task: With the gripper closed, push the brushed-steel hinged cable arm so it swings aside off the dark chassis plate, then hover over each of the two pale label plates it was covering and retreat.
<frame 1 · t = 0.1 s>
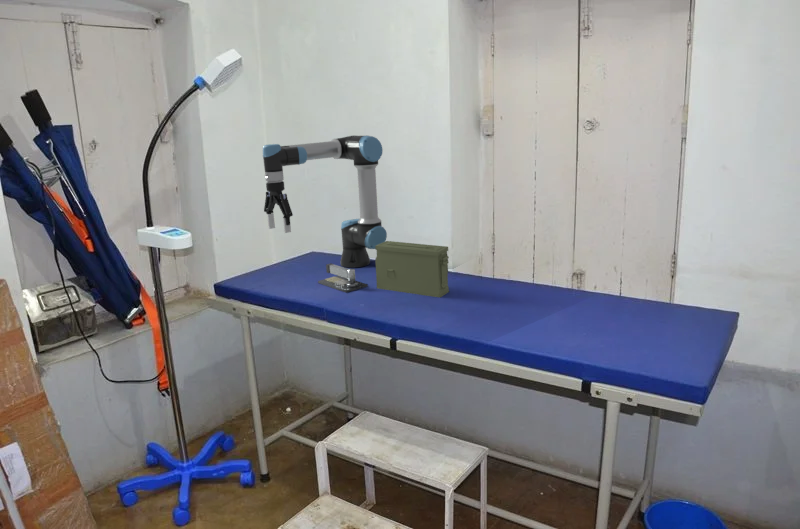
hand: (279, 230, 260), 28 cm above the table, fingers open, 13 cm apart
chassis: (352, 288, 269), on the table
ammunition box: (413, 290, 262), on the table
cable arm: (341, 272, 273), point 6 cm above the table, hinge at 0.0°
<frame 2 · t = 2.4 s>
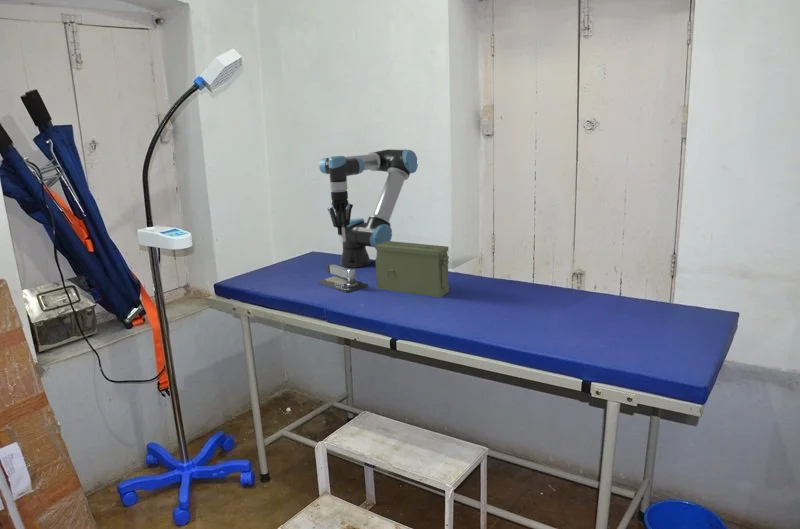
hand: (342, 241, 278), 18 cm above the table, fingers closed
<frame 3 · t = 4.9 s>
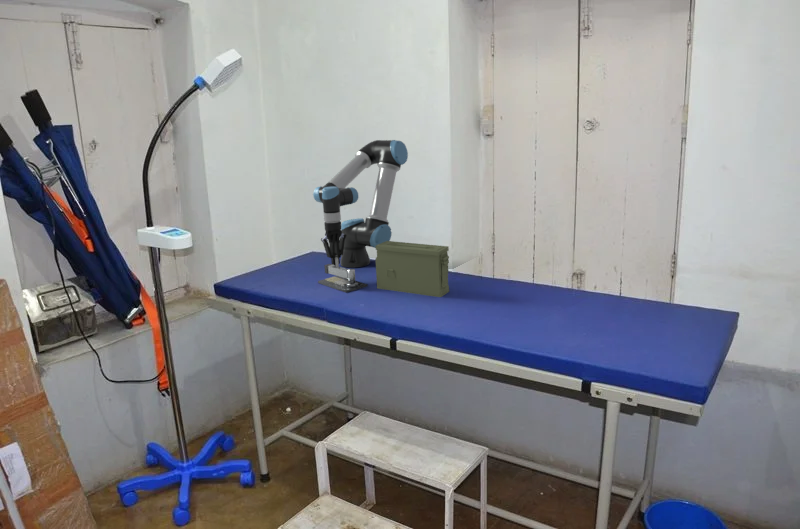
hand: (336, 271, 278), 5 cm above the table, fingers closed
cable arm: (340, 273, 273), point 6 cm above the table, hinge at 3.3°, touching gripper
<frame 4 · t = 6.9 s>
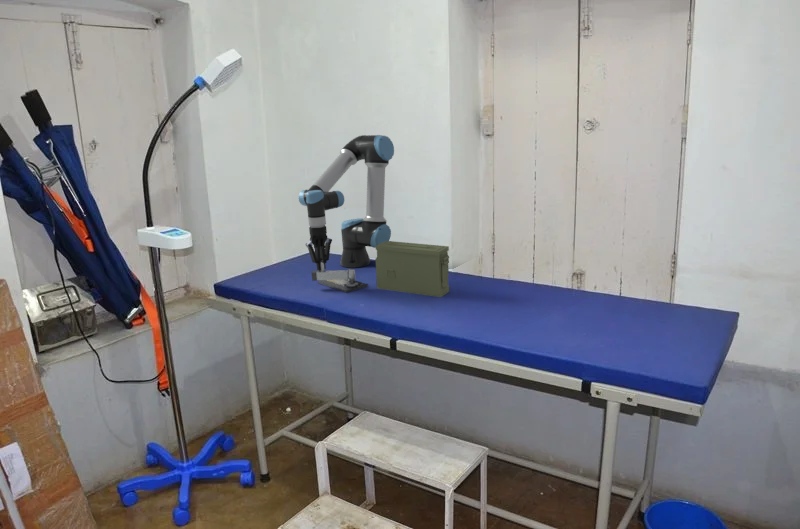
hand: (322, 276, 271), 5 cm above the table, fingers closed
cable arm: (333, 276, 268), point 6 cm above the table, hinge at 45.0°, touching gripper
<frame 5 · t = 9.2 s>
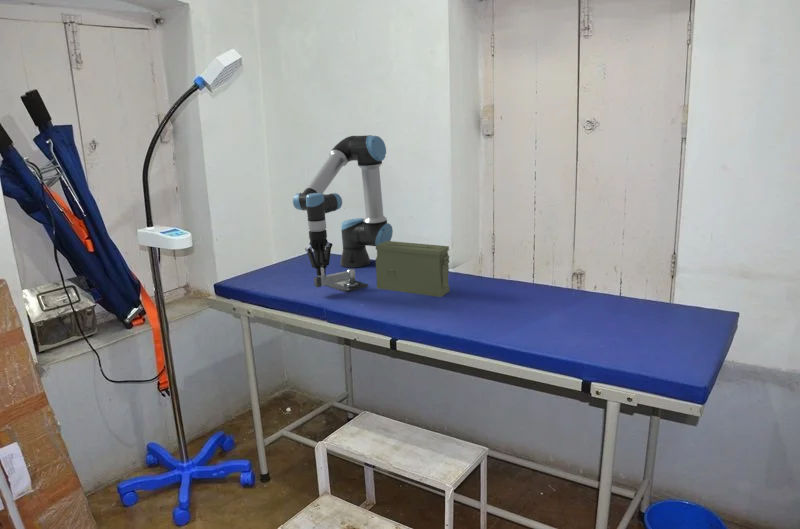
hand: (322, 282, 263), 5 cm above the table, fingers closed
cable arm: (335, 279, 263), point 6 cm above the table, hinge at 81.4°, touching gripper
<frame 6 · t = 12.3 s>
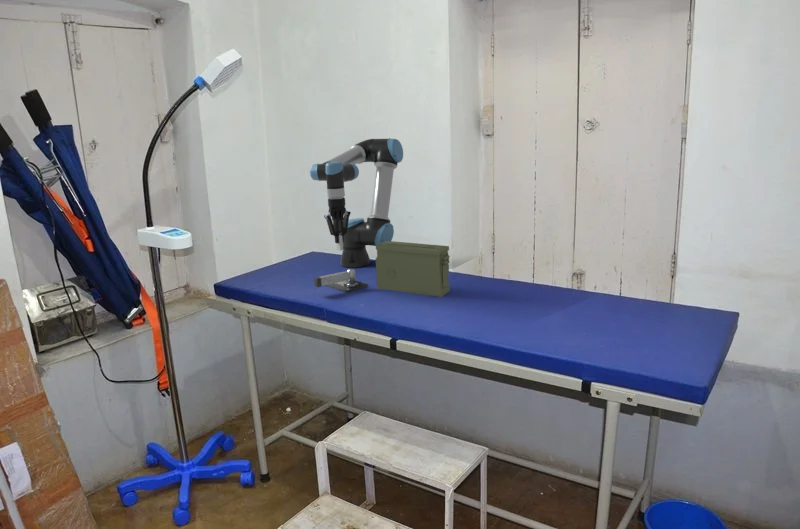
hand: (340, 249, 269), 17 cm above the table, fingers closed
cable arm: (335, 279, 263), point 6 cm above the table, hinge at 81.4°
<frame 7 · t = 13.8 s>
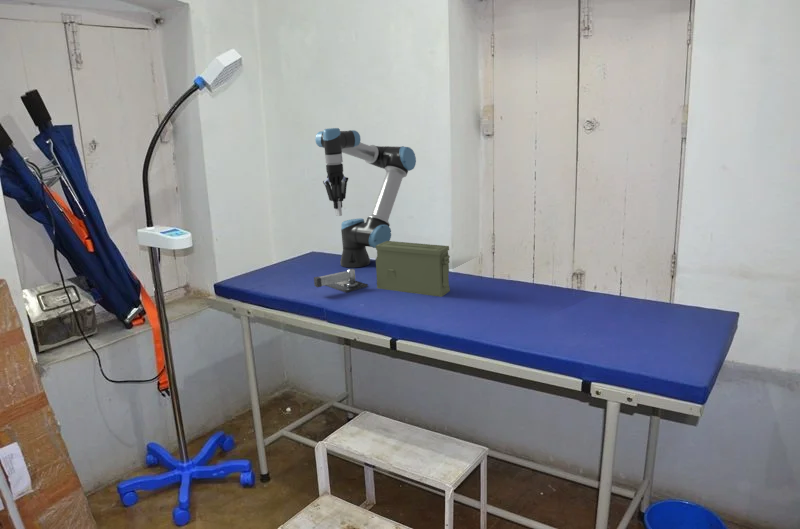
hand: (338, 215, 275), 30 cm above the table, fingers closed
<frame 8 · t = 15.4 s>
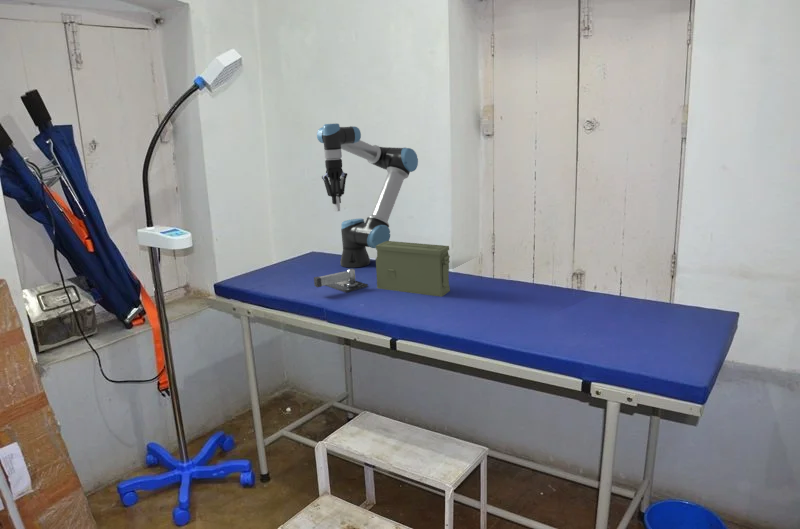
hand: (337, 210, 276), 32 cm above the table, fingers closed
at the end: cable arm at +81° (first picture: +0°); the gripper is holding nothing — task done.
